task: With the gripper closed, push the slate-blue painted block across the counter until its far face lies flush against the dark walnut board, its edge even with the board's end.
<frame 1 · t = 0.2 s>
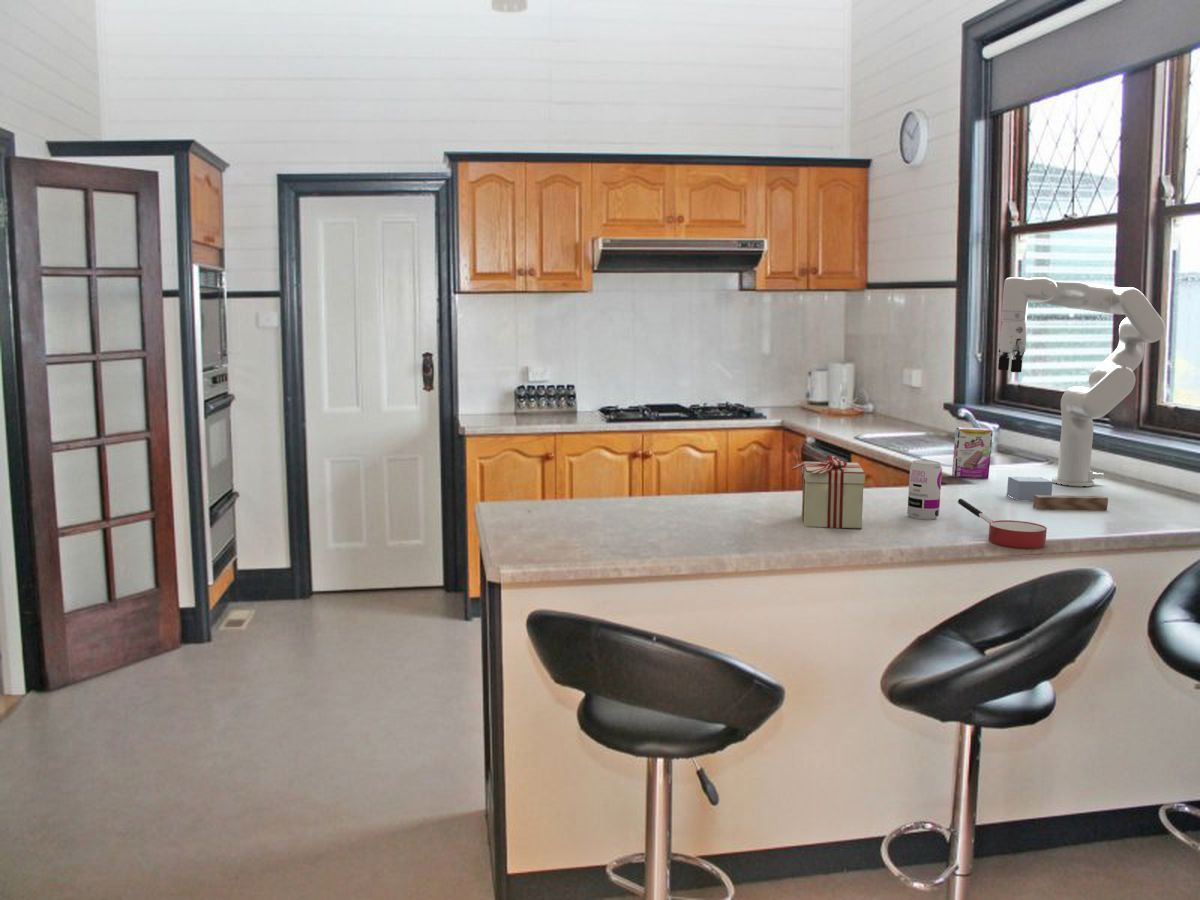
hand: (1009, 371, 348), 36 cm above the countertop, tool pointing down, fingers open, 9 cm apart
board: (1069, 508, 312), on the countertop
frying pan: (990, 535, 275), on the countertop
gift box: (825, 523, 284), on the countertop
block: (1028, 499, 327), on the countertop
supplement can: (922, 517, 295), on the countertop
candy bar box: (970, 478, 363), on the countertop
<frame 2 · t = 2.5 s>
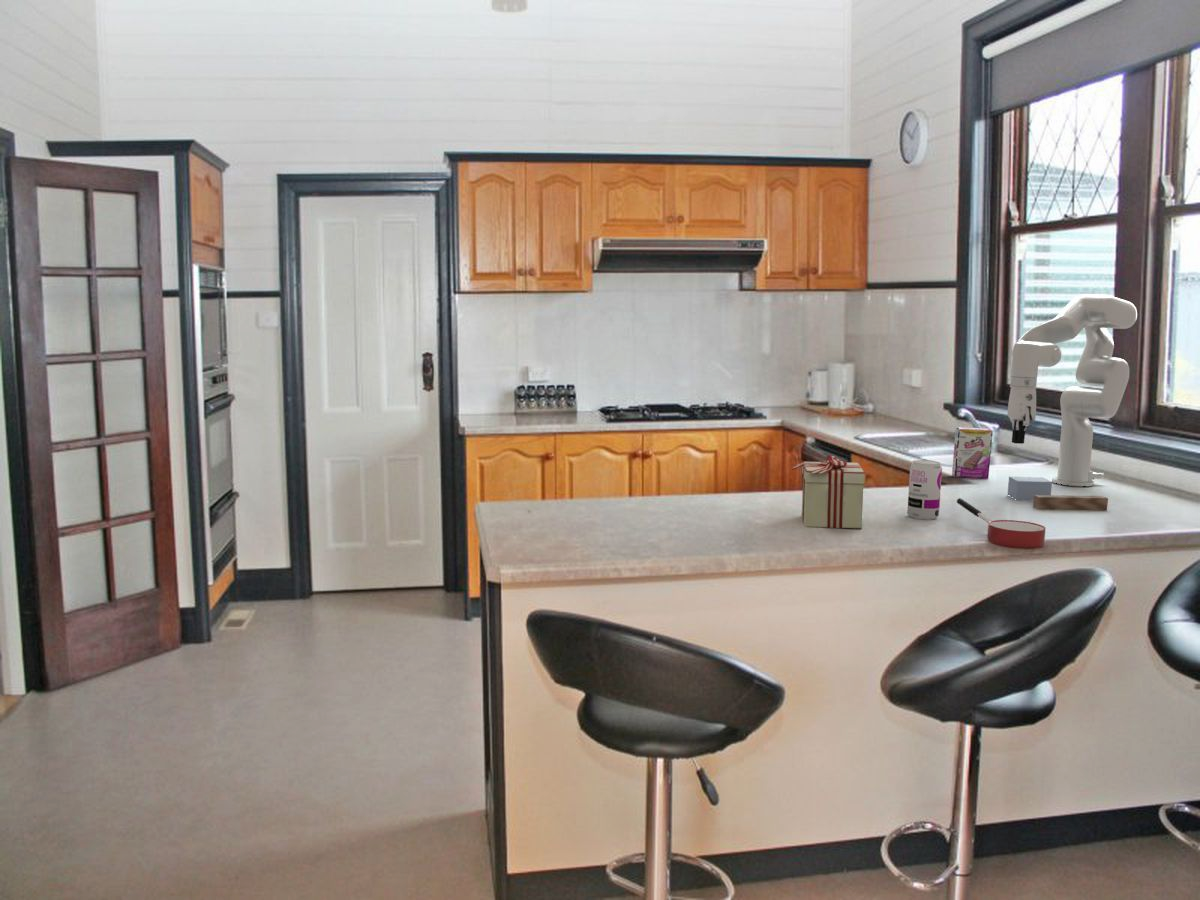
hand: (1017, 443, 334), 15 cm above the countertop, tool pointing down, fingers closed
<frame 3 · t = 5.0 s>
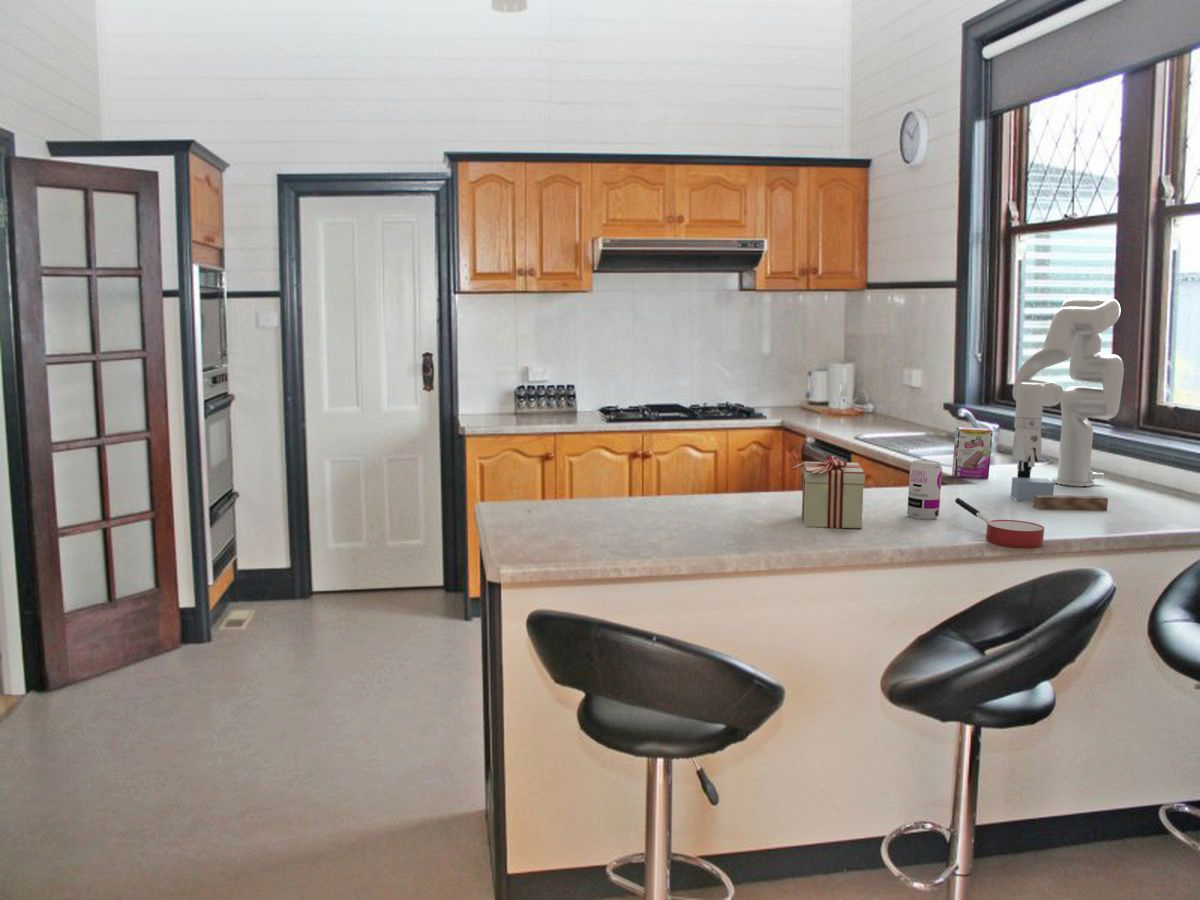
hand: (1023, 483, 331), 4 cm above the countertop, tool pointing down, fingers closed
block: (1031, 499, 325), on the countertop, touching gripper
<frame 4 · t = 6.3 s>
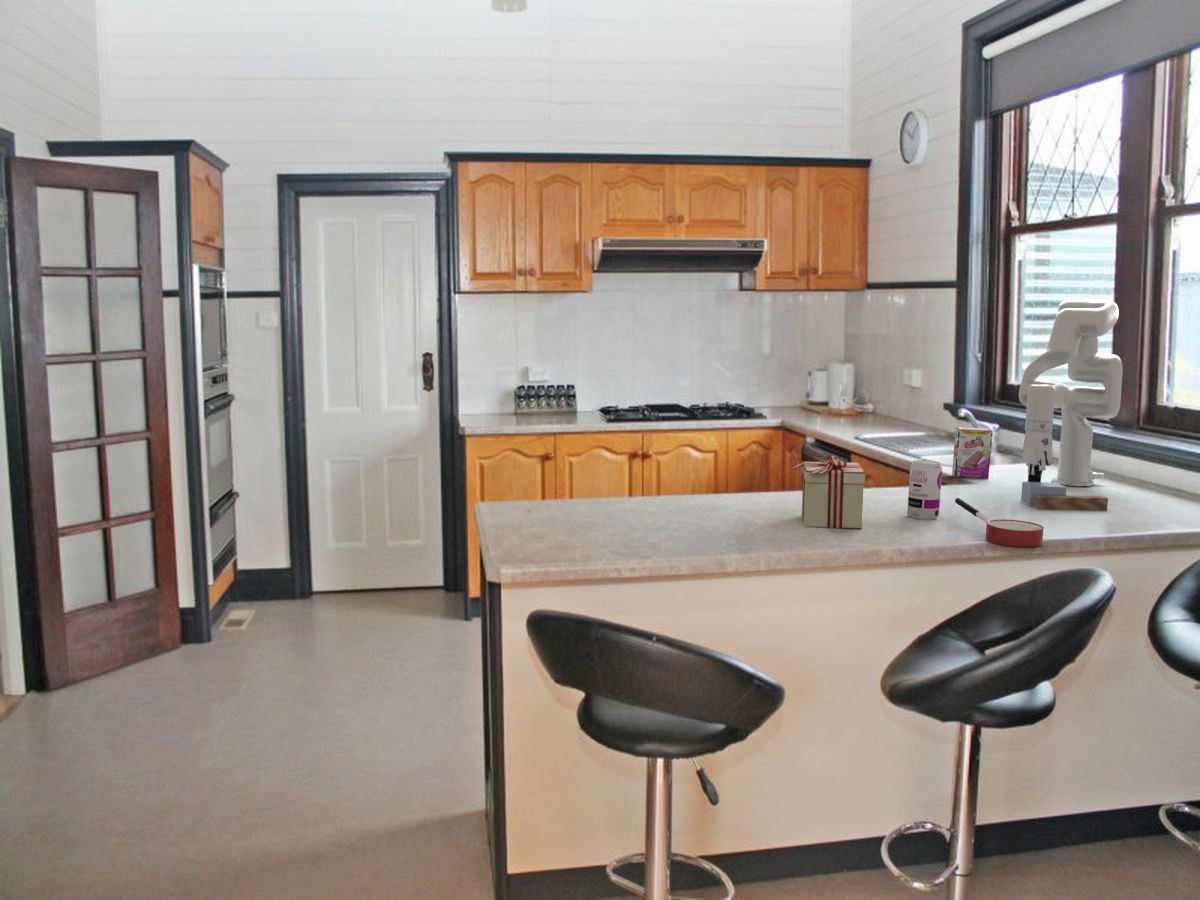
hand: (1033, 487, 324), 4 cm above the countertop, tool pointing down, fingers closed
block: (1042, 504, 318), on the countertop, touching gripper
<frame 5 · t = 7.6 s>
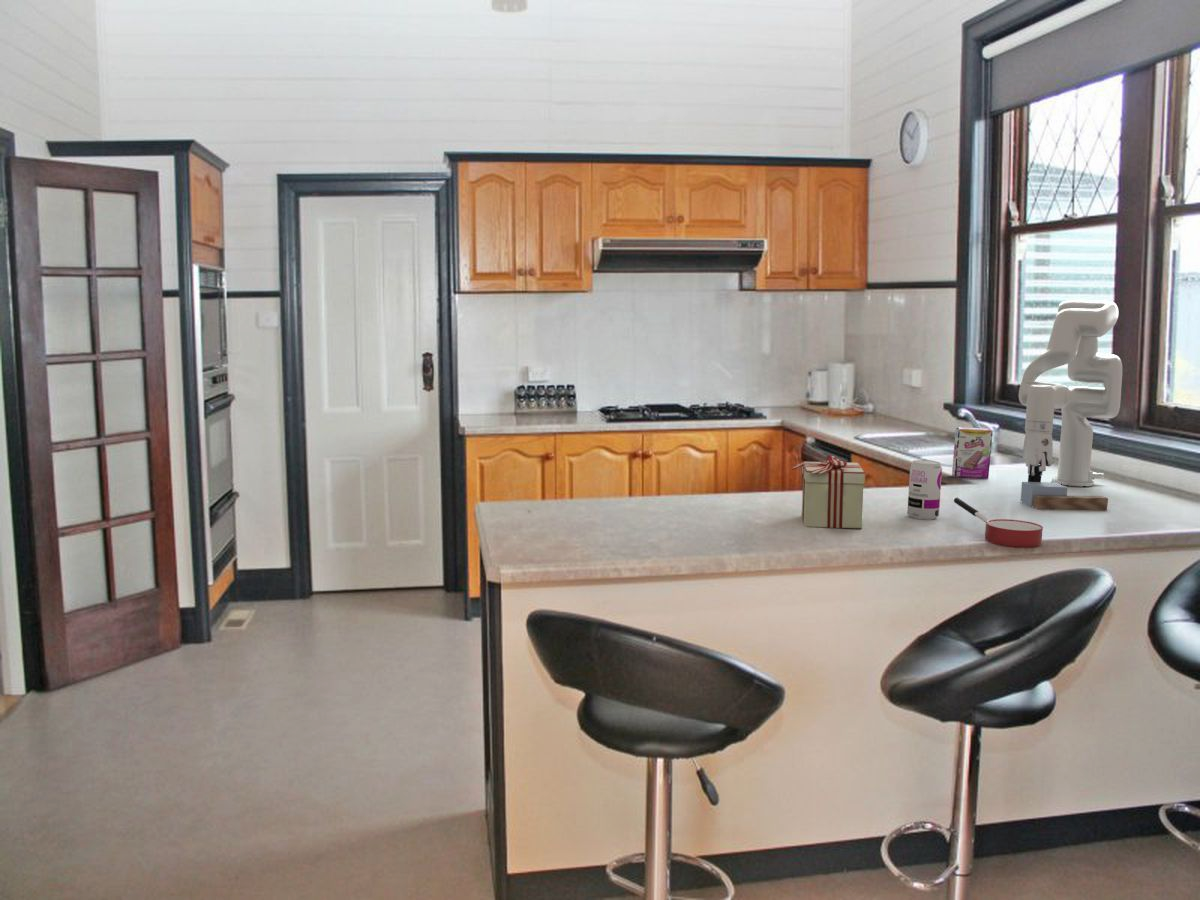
hand: (1033, 488, 323), 4 cm above the countertop, tool pointing down, fingers closed
block: (1042, 504, 318), on the countertop
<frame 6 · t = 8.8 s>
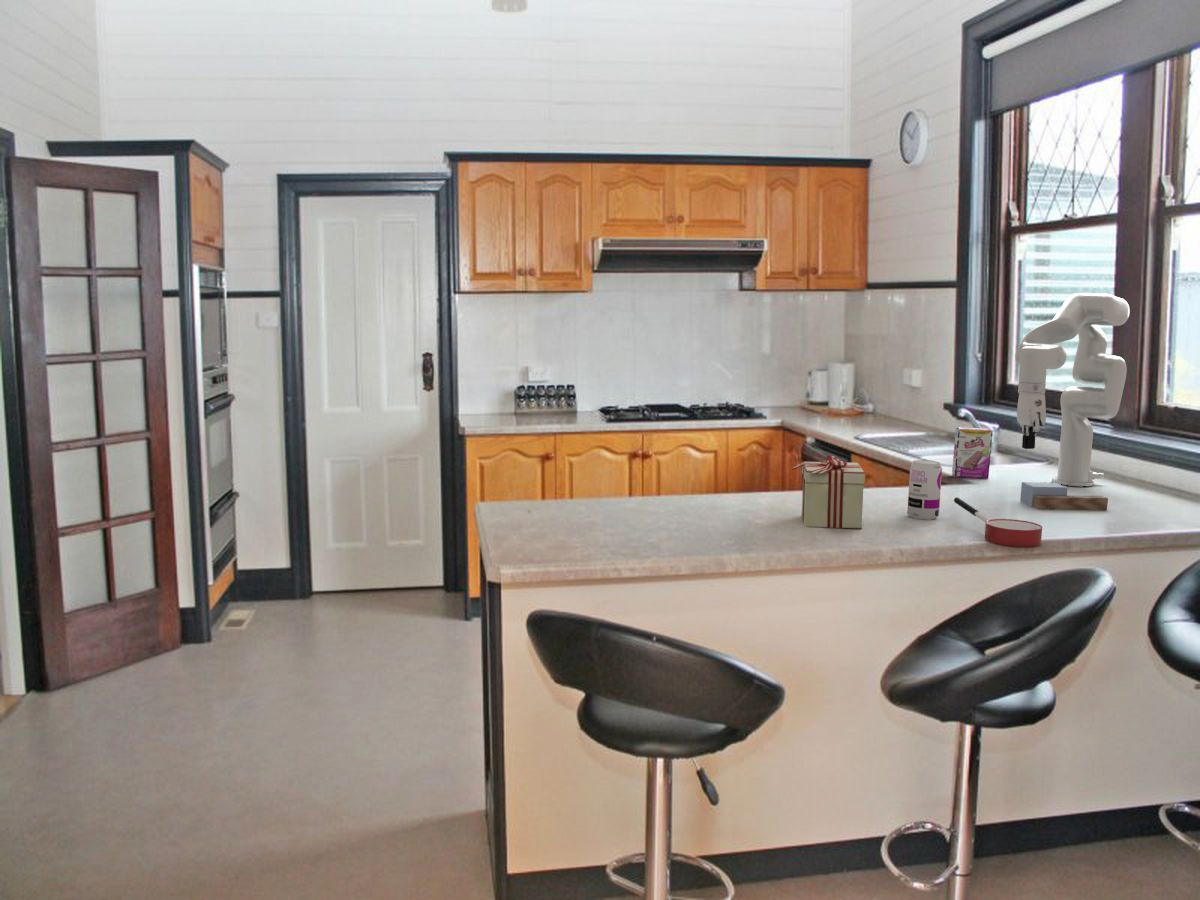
hand: (1028, 448, 330), 14 cm above the countertop, tool pointing down, fingers closed
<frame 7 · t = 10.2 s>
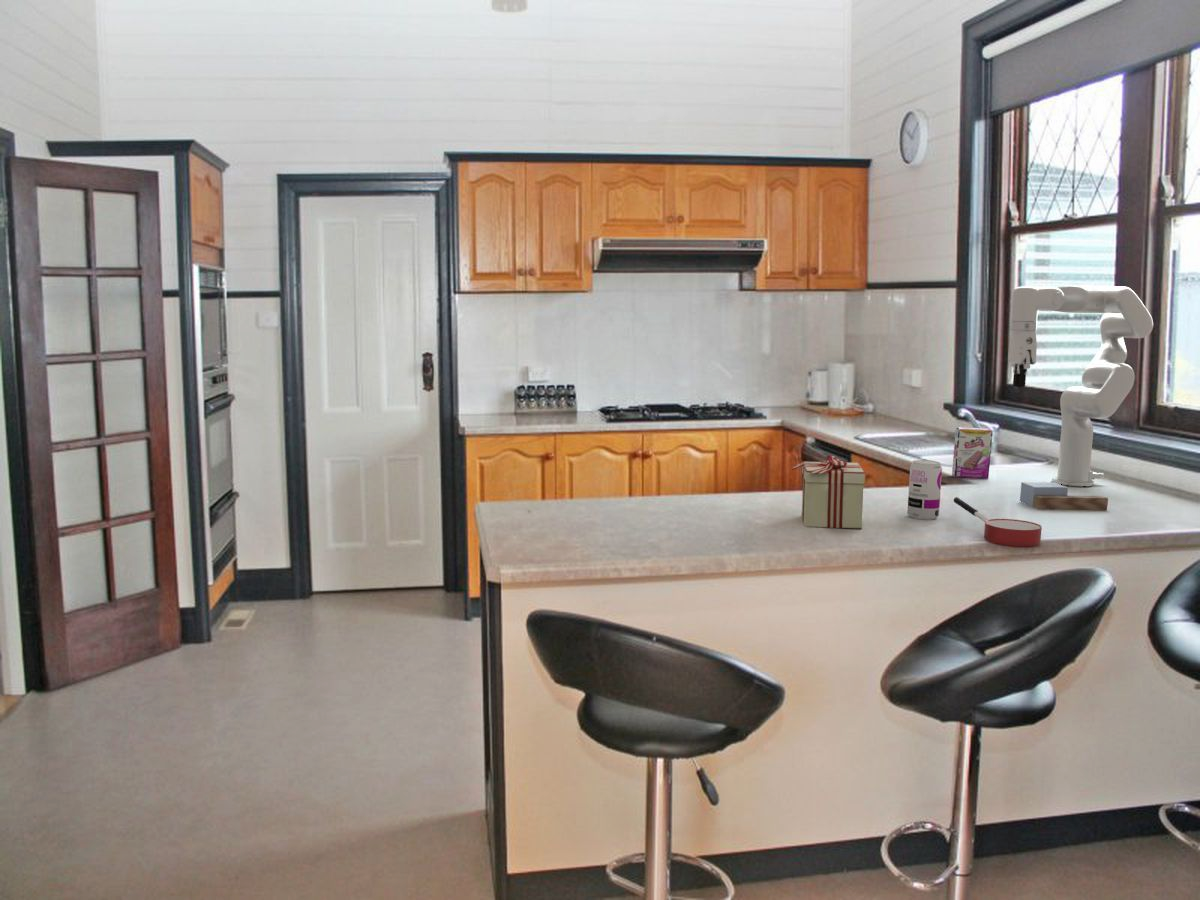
hand: (1018, 386, 339), 32 cm above the countertop, tool pointing down, fingers closed
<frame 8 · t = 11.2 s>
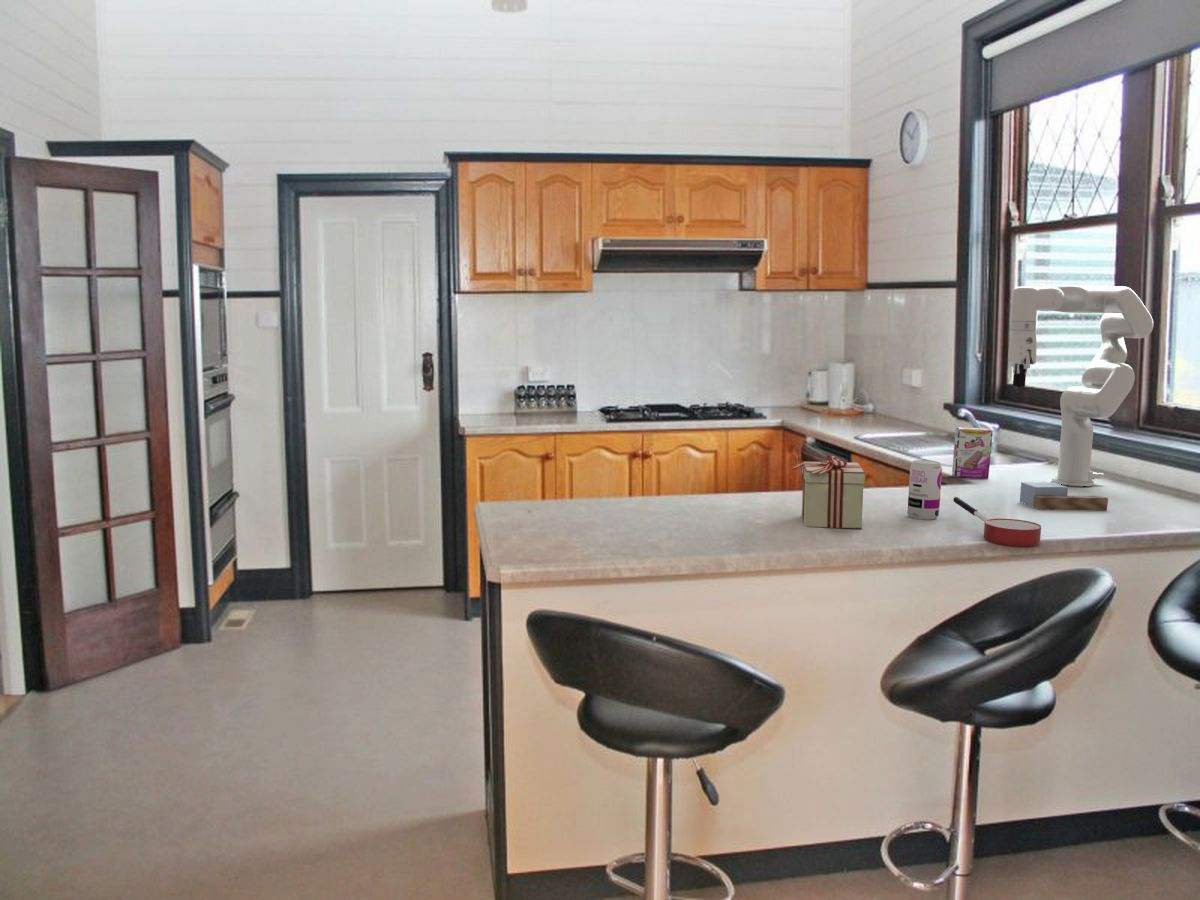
hand: (1018, 386, 339), 32 cm above the countertop, tool pointing down, fingers closed
at the end: block 0.1 cm from the target spot on the countertop beside the board, on the countertop; block tilted 0° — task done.
